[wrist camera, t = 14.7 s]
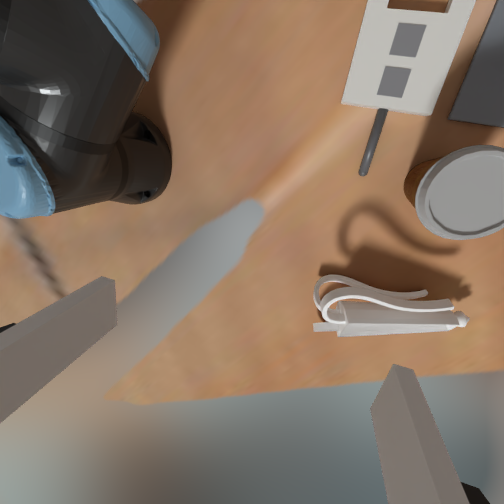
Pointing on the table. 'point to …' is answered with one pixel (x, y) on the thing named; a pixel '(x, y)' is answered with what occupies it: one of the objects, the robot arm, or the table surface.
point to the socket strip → (402, 61)
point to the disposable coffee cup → (460, 192)
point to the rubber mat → (484, 77)
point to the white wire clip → (382, 311)
